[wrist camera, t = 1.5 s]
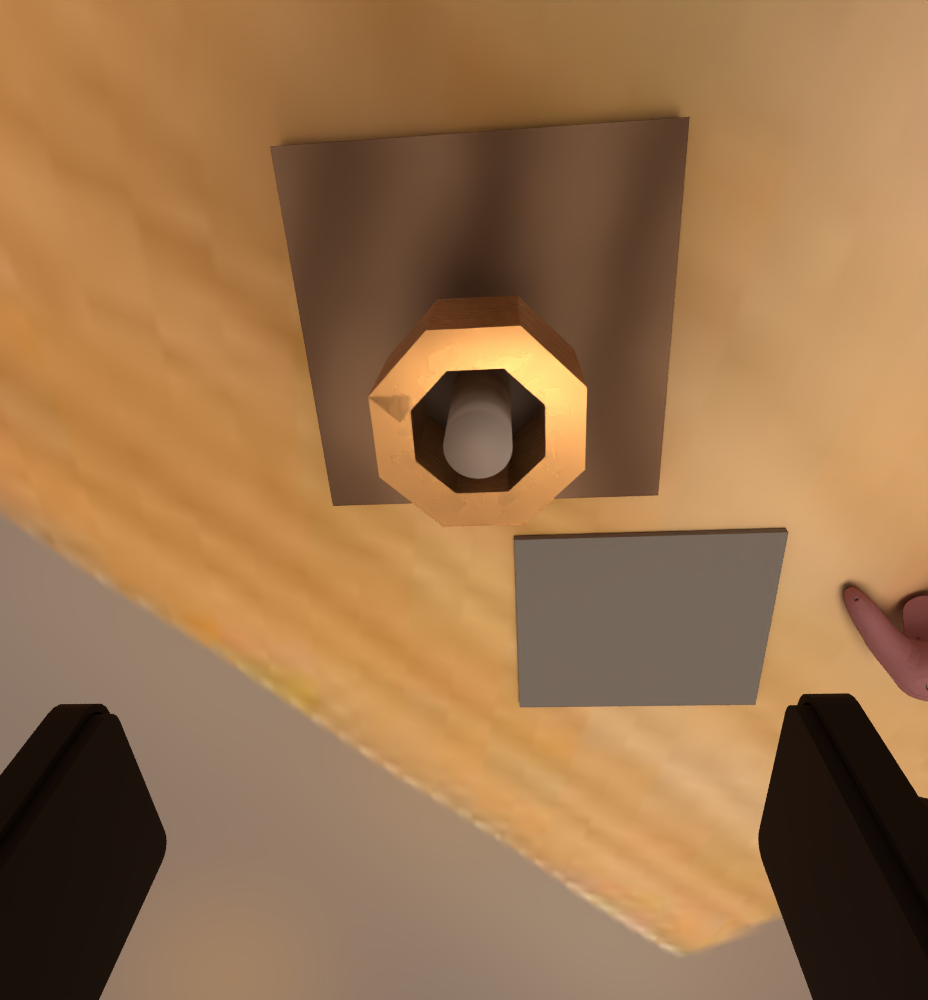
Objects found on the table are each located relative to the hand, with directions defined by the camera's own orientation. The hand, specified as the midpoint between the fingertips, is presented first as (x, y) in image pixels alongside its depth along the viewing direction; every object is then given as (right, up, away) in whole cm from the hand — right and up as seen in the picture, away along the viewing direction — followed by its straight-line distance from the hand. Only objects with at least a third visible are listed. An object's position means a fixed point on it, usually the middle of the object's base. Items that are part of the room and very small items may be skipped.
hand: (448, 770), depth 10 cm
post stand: (+1, +12, +21) cm, 24 cm away
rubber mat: (+10, -3, +29) cm, 31 cm away
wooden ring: (+1, +8, +14) cm, 16 cm away
